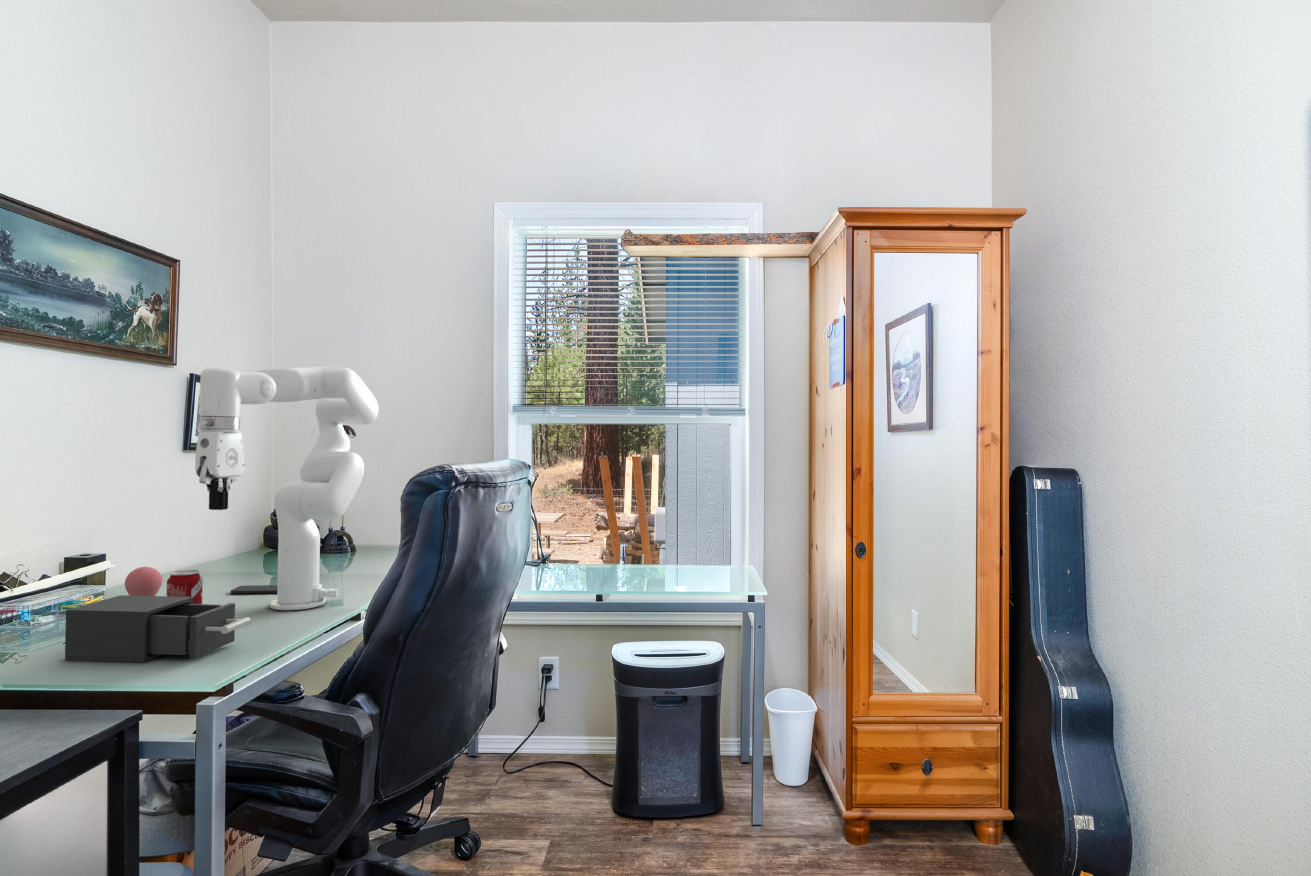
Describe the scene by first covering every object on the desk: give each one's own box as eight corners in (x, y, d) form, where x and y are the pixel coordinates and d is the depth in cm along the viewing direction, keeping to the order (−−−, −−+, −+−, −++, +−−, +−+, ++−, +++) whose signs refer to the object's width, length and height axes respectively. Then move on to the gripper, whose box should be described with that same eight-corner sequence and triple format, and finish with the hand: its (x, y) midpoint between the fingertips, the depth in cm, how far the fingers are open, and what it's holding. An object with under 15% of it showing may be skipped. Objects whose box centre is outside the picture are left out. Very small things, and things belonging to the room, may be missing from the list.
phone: (288, 590, 189) (229, 591, 186) (288, 593, 189) (228, 594, 186) (297, 584, 196) (240, 585, 193) (297, 587, 196) (240, 588, 193)
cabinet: (192, 643, 142) (192, 596, 142) (144, 662, 129) (145, 611, 129) (119, 641, 143) (120, 595, 143) (64, 660, 130) (65, 609, 130)
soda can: (183, 629, 152) (184, 575, 152) (158, 627, 153) (159, 573, 153) (209, 621, 159) (210, 569, 159) (184, 619, 160) (185, 568, 160)
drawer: (257, 641, 141) (257, 603, 141) (219, 658, 129) (220, 617, 130) (166, 639, 142) (166, 601, 142) (121, 656, 130) (121, 615, 130)
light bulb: (116, 619, 159) (117, 568, 159) (149, 612, 166) (150, 563, 166) (136, 623, 157) (137, 570, 157) (168, 616, 163) (169, 565, 163)
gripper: (213, 424, 142) (211, 513, 142) (258, 426, 157) (256, 506, 157) (178, 424, 142) (176, 512, 142) (226, 426, 157) (224, 506, 157)
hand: (218, 509), depth 149 cm, fingers closed
